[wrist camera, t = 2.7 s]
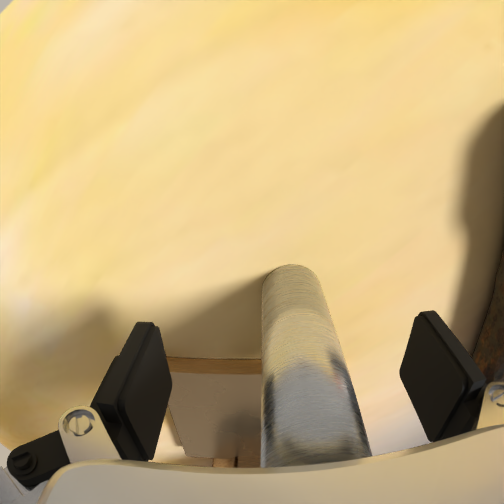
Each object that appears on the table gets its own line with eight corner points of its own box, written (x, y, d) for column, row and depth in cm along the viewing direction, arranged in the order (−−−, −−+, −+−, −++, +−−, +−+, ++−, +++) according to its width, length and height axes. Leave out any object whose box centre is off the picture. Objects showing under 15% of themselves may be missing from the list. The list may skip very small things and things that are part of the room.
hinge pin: (322, 263, 14) (391, 457, 5) (318, 315, 15) (362, 503, 6) (261, 265, 14) (259, 471, 5) (262, 317, 16) (260, 512, 6)
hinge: (342, 355, 16) (367, 442, 11) (305, 508, 25) (308, 553, 20) (163, 357, 17) (132, 440, 11) (213, 508, 26) (208, 552, 20)
